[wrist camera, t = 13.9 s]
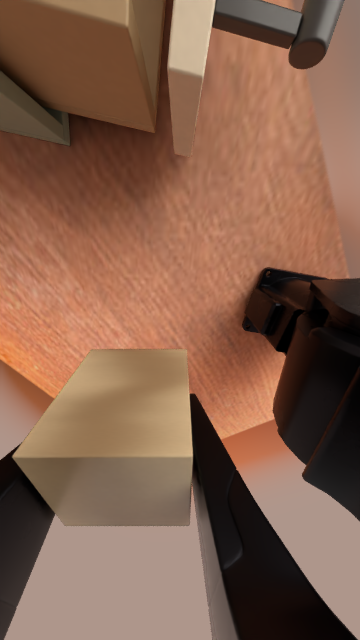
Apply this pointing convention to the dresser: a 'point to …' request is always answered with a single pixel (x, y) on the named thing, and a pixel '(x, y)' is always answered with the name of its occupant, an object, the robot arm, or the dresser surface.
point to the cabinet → (30, 115)
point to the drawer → (142, 52)
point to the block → (116, 442)
